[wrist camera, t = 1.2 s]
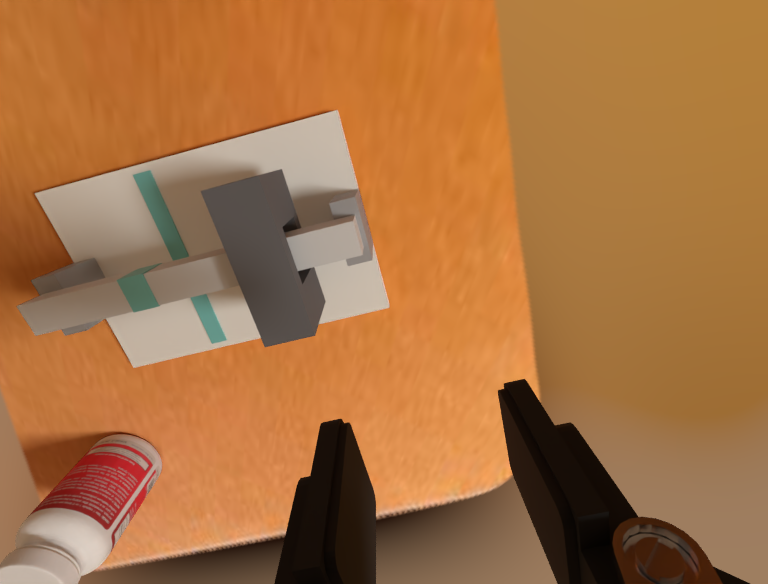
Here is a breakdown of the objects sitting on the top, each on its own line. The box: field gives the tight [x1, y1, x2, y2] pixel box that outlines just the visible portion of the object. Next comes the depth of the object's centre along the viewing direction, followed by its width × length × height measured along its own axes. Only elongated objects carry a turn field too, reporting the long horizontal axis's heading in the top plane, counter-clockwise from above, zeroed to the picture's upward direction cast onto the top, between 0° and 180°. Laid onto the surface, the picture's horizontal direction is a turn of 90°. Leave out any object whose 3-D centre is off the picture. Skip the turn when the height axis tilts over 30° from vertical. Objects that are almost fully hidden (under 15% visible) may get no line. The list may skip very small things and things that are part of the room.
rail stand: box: [17, 110, 389, 368], centre depth 25 cm, size 14×21×7 cm, turn 104°
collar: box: [201, 169, 326, 347], centre depth 23 cm, size 9×3×5 cm, turn 14°
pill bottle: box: [0, 434, 162, 584], centre depth 30 cm, size 6×6×11 cm
